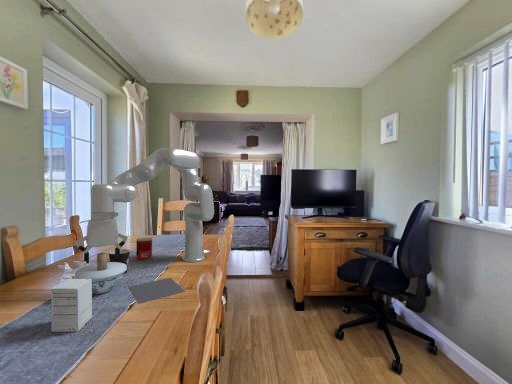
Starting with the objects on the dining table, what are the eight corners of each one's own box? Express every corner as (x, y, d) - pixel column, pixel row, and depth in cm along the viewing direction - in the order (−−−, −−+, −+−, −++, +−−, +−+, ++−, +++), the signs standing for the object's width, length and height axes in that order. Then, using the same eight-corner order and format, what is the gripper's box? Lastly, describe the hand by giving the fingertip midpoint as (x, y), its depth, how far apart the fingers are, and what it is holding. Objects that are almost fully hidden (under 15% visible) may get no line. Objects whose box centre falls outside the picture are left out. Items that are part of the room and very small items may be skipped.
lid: (123, 262, 108) (123, 246, 108) (130, 274, 95) (130, 256, 95) (74, 269, 98) (74, 251, 98) (75, 284, 85) (75, 263, 84)
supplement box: (67, 318, 78) (67, 278, 77) (92, 317, 78) (92, 278, 78) (50, 332, 70) (50, 288, 70) (78, 332, 71) (78, 288, 70)
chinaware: (90, 304, 87) (90, 282, 86) (71, 293, 95) (71, 273, 94) (132, 289, 99) (132, 270, 99) (111, 280, 107) (111, 262, 107)
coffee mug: (120, 277, 111) (120, 254, 111) (104, 275, 113) (104, 253, 113) (137, 268, 123) (138, 248, 123) (122, 266, 125) (122, 246, 124)
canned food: (154, 257, 142) (155, 237, 141) (144, 261, 134) (144, 240, 134) (144, 255, 144) (144, 236, 144) (133, 259, 137) (133, 239, 136)
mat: (170, 279, 111) (170, 277, 111) (185, 292, 97) (185, 291, 97) (127, 288, 100) (128, 286, 100) (138, 305, 87) (138, 303, 87)
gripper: (125, 214, 104) (125, 254, 105) (74, 216, 93) (74, 261, 94) (129, 216, 98) (129, 259, 99) (75, 219, 88) (75, 267, 88)
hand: (102, 260), depth 96 cm, fingers open, 9 cm apart
